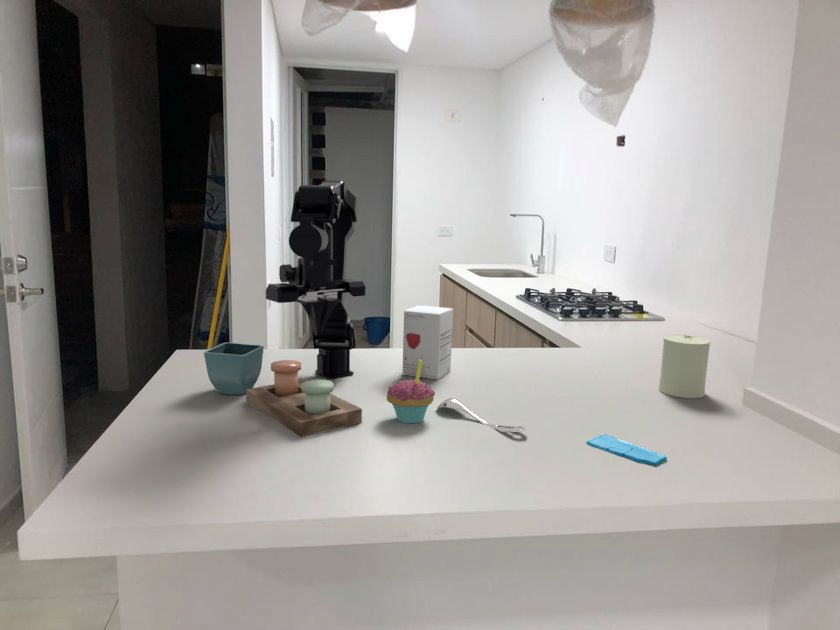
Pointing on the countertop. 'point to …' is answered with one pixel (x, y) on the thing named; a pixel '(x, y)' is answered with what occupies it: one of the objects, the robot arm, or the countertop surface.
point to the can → (684, 366)
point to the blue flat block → (626, 450)
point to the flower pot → (234, 367)
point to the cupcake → (410, 398)
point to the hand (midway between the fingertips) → (317, 334)
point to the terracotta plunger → (286, 377)
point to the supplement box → (427, 341)
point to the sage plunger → (317, 396)
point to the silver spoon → (461, 406)
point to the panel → (302, 411)
